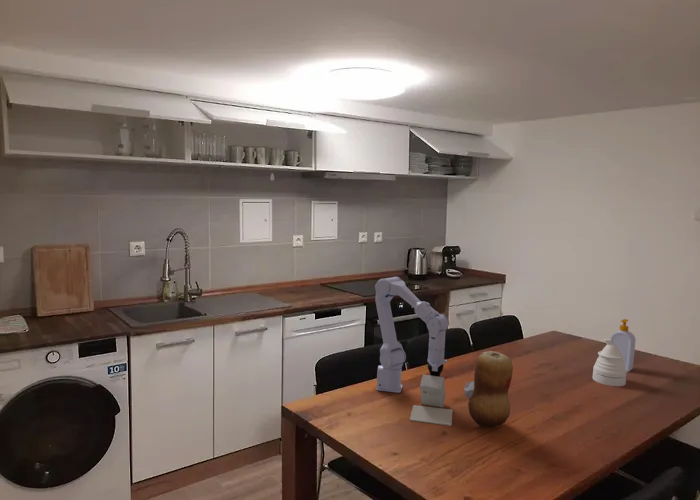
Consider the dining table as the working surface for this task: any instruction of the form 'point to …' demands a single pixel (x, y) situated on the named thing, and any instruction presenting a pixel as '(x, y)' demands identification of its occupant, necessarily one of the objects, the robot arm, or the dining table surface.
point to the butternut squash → (491, 389)
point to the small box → (432, 390)
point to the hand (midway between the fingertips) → (434, 384)
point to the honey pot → (610, 366)
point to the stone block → (469, 389)
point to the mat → (431, 415)
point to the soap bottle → (625, 344)
